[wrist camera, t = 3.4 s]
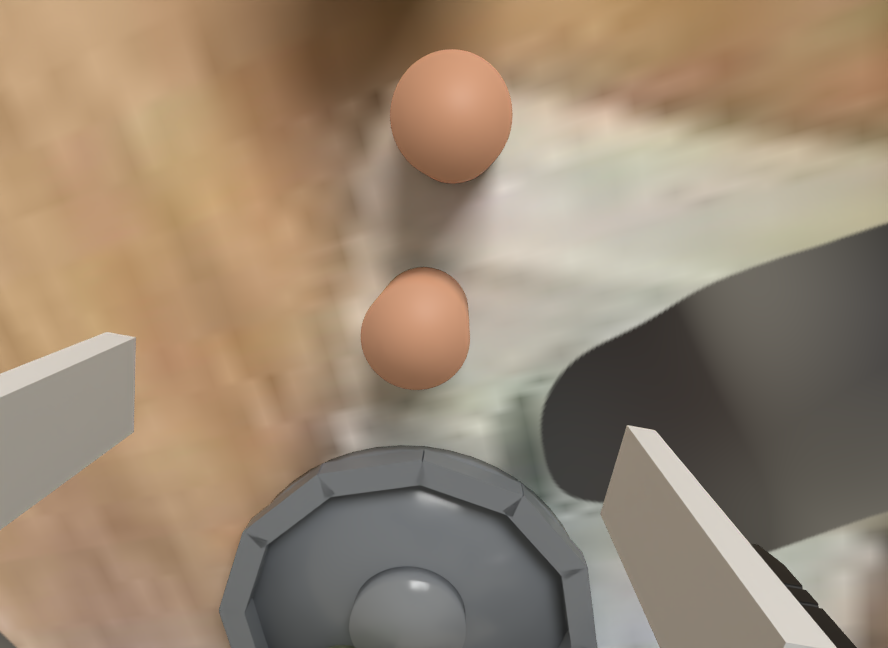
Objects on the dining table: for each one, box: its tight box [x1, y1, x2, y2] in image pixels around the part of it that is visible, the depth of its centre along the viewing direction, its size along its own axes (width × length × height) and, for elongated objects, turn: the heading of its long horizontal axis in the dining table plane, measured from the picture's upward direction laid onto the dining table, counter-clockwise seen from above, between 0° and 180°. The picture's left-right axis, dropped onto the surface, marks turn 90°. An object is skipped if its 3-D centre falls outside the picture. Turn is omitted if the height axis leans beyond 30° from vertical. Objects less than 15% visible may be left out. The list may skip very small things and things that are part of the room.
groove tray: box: [219, 445, 597, 648], centre depth 31 cm, size 22×22×2 cm
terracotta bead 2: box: [361, 267, 470, 390], centre depth 25 cm, size 5×5×6 cm
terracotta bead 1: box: [390, 49, 512, 184], centre depth 22 cm, size 5×5×6 cm
